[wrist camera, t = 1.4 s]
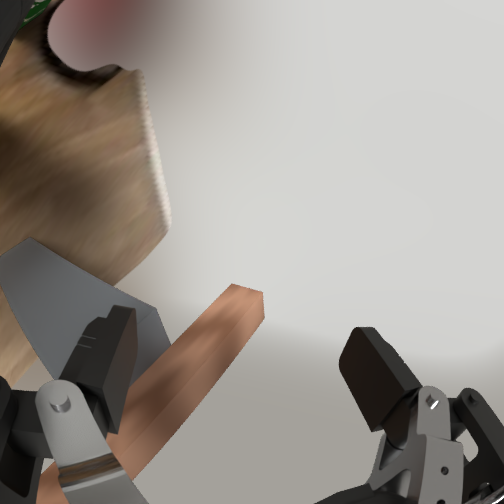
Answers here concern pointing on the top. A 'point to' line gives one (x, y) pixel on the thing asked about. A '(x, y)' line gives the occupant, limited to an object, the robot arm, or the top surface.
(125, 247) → the top surface
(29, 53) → the top surface
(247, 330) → the batten
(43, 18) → the top surface
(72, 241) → the top surface
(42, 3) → the milk carton
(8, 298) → the pedestal
